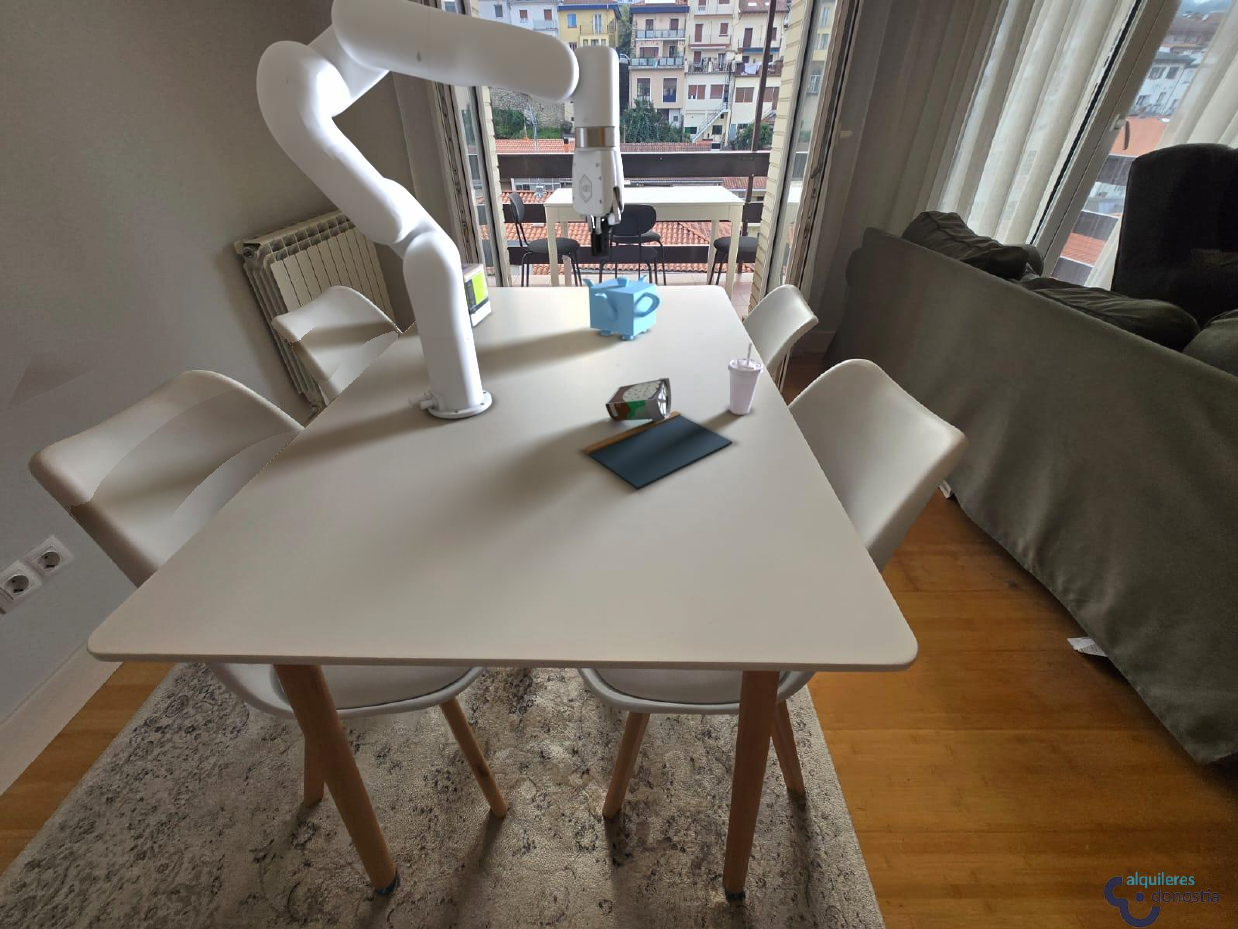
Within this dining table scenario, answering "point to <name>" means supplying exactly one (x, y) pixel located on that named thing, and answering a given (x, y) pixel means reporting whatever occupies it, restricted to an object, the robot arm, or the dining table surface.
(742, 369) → the smoothie
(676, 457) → the dark blue notebook
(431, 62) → the robot arm
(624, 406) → the food container
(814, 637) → the dining table surface
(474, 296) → the tea box
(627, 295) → the teakettle
